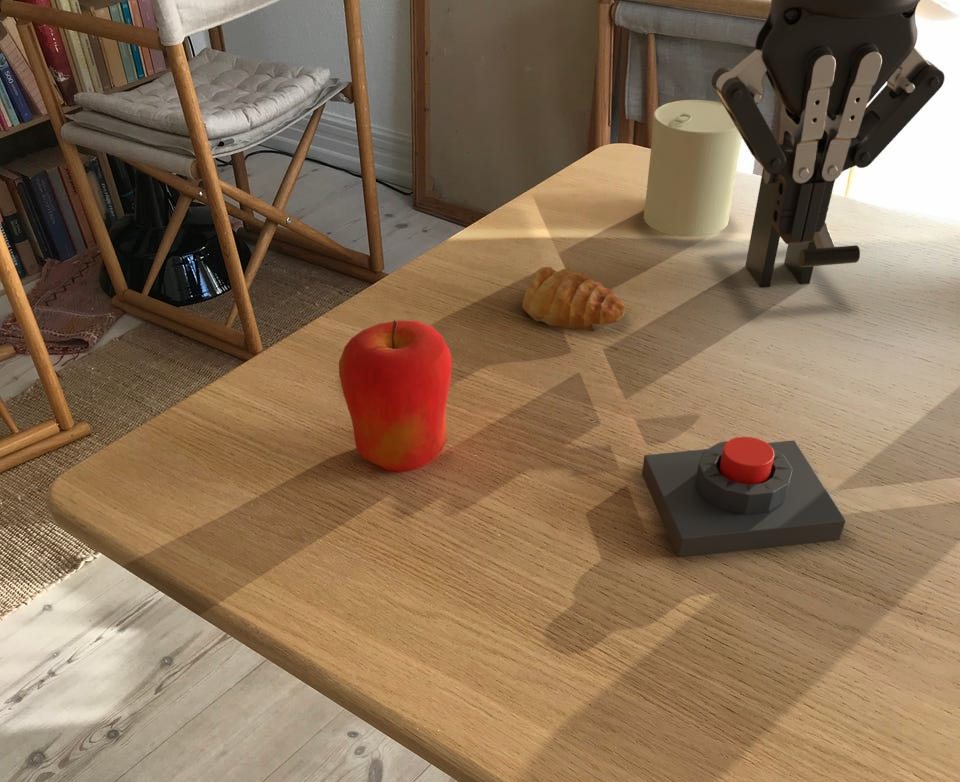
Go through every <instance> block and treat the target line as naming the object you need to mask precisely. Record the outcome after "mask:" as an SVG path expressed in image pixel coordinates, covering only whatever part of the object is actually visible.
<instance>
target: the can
mask: <svg viewBox="0 0 960 782" xmlns="http://www.w3.org/2000/svg"><path fill="white" fill-rule="evenodd" d="M651 132H652V134H651V145H650V155H649V164H648V174H647V183H646V192H645V193H646V194H645V202H644V209H643V210H644V212H643V220H644V222H645V223H646V224H647V225H648V226H649V227H650V228H652V229H653V230H656V231H658V232H661V233H663V234H667V235H669V236H670V235H671V236H676V237H685V238H686V237H687V238H688V237H689V238H692V237H693V238H695V237H697V238H698V237H706V236H711V235H714V234H717V233H719V232H721V231H723V230H724V229H725V228H726V227H727V226H728V224H729V220H730V213H731V207H732V201H733V193H734V188H735V187H734V186H735V181H736V177H737V170H738V169H737V168H738V163H739V156H740V150H741V144H742V140H743V138H742V136H741V135H740V133H739V131H738V130H737V128H736V126H735V124H734V123H733V121H732V119H731V117H730V116H729V114H728V112H727V111H726V109H725V107H724V105H723V104H722V102H721V101H720V102H719V101H715V100H705V99H683V100H676V101H672V102H667V103H664V104H662V105H660V106H658V107H657V108H656V109H655V110H654V112H653V114H652V131H651Z"/></svg>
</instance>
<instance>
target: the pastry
mask: <svg viewBox="0 0 960 782" xmlns="http://www.w3.org/2000/svg"><path fill="white" fill-rule="evenodd" d="M521 308H522V310H524V311H525V312H526V314H528V316H529V317H530V318H532V319H533V320H534V321H535V322H542V323H545V324H546V325H547V326H552V327H558V328H564V329H570V330H578V331H587V332H595V329H594V327H593V324H595V325H604V324H610V323H616V322H618V321H620V320H621V319H622V318H623V317H624V316H625V313H626V309H627V308H626V306H625V305H624V303H623V301H622V300H621V299H620V298H619V297H618V296H617V295H615V293H614V291H613V290H611V289H609V288H606V287H604V286H603V284H602V283H601V282H600V281H595V280H592V279H591V278H590V277H589V276H587V274H585V272H581V273H575V272H574V271H573V270H572V269H570V268H563V269H561V270H559V271H557V270H556V269H554V268H553V267H551V266H543V267H541V268H539V269H538V270H537V271H536V272H534V274H533V276H532V278H531V280H529V282H528V284H527V287H526V290H525V292H524V295H523V300H522V305H521Z"/></svg>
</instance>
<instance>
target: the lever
mask: <svg viewBox="0 0 960 782" xmlns="http://www.w3.org/2000/svg"><path fill="white" fill-rule="evenodd" d="M813 239H814V242H815V245H816V249H803V250H801V251H800V253H799V257H798V262H799V265H800V267H810V266H814V267H821V266H833V265H843V264H846V265H847V264H856V263H858V261H859V260H860V256H861V249H860V247H859V246H858V245H857V244H855V245H854V244H853V245H841V246H835V244H834V241H833V237H832V235H831V233H830V230H829V227H828V225H827V222H826V221H825V224H824V225H823V227H822V229H821V230H820V232H815V234H814V238H813Z"/></svg>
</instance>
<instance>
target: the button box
mask: <svg viewBox="0 0 960 782" xmlns="http://www.w3.org/2000/svg"><path fill="white" fill-rule="evenodd" d="M728 441H729V440H727V441H720V442H718V443H716V444H714V445H712V446H711V447H709V448H703V449H693V450H683V451H674V452H663V453H654V454H653V453H651V454H645V455H644V456H643V462H642V463H643V464H642V470H641V476H642V478H643V481H644V483H645V485H646V487H647V490H648V492H649V494H650V496H651V498H652V501H653V503H654V505H655V507H656V510H657V513H658V514H659V517H660V519H661V521H662V523H663V526H664V528H665V531H666V532H667V535H668V538H669V540H670V542H671V544H672V547H673V548H674V551H675V553H676V556H677V558H678V559H681V558H691V557H698V556H699V557H700V556H709V555H717V554H726V553H735V552H744V551H745V552H746V551H753V550H762V549H771V548H781V547H789V546H799V545H808V544H817V543H825V542H834V541H840V540H841V537H842V533H843V531H844V527H845V524H846V519H845V517H844V516H843V514H842V513H841V511H840V510H839V508H838V506H837V505H836V503H835V502H834V500H833V499H832V497H831V495H830V494H829V492H828V491H827V489H826V487H825V486H824V484H823V483H822V481H821V480H820V478H819V476H818V475H817V473H816V472H815V470H814V468H813V467H812V465H811V463H810V462H809V460H808V459H807V458H806V456H805V454H804V453H803V451H802V450H801V448H800V447H799V445H798V443H797V441H796V440H783V441H773V442H767V443H768V444H769V445H770V446H771V447H772V449H773V450H774V459H773V464H772V468H771V472H770V476H769V478H768V479H767V480H766V481H764V482H763V483H759V484H749V485H747V484H743V483H738V482H733V481H731V480H729V479H728V478H726V477H724V476H723V475H722V474H721V472H720V462H721V457H722V452H723V447H724V445H725V444H726V443H727V442H728Z"/></svg>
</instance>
